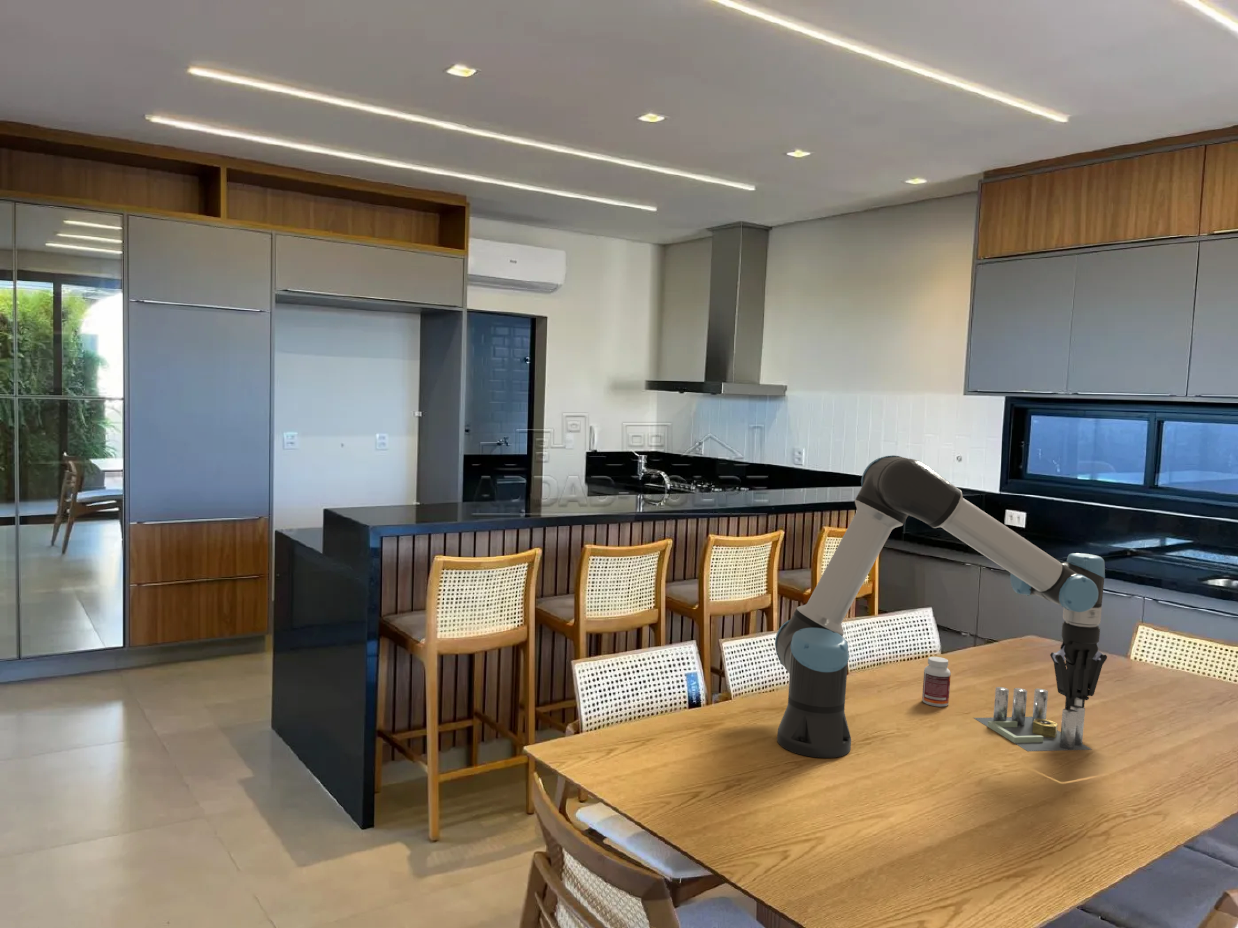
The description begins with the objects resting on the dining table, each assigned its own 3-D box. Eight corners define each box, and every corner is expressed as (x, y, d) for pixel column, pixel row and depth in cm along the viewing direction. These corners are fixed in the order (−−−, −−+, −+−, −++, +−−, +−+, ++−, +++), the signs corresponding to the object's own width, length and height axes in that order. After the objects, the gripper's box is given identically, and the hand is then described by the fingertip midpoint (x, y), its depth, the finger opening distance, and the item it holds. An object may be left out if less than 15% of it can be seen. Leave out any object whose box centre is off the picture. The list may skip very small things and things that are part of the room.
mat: (1027, 752, 188) (1027, 750, 188) (973, 719, 207) (973, 717, 207) (1092, 751, 190) (1092, 749, 190) (1032, 718, 210) (1032, 716, 210)
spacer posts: (1040, 750, 188) (1043, 713, 188) (990, 720, 206) (993, 686, 205) (1091, 749, 191) (1094, 712, 190) (1037, 719, 208) (1040, 686, 207)
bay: (1014, 742, 192) (1014, 737, 192) (987, 726, 202) (987, 721, 202) (1043, 741, 193) (1043, 736, 193) (1015, 725, 203) (1015, 720, 203)
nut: (1047, 738, 196) (1048, 727, 195) (1027, 730, 200) (1028, 719, 200) (1062, 736, 198) (1063, 725, 197) (1041, 728, 202) (1042, 717, 202)
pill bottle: (953, 707, 215) (956, 663, 215) (929, 707, 214) (932, 662, 214) (940, 698, 221) (943, 655, 221) (917, 698, 221) (920, 655, 220)
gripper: (1066, 627, 194) (1058, 732, 195) (1119, 627, 196) (1110, 731, 198) (1044, 618, 201) (1036, 720, 203) (1095, 618, 204) (1086, 719, 205)
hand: (1073, 725), depth 200 cm, fingers closed
